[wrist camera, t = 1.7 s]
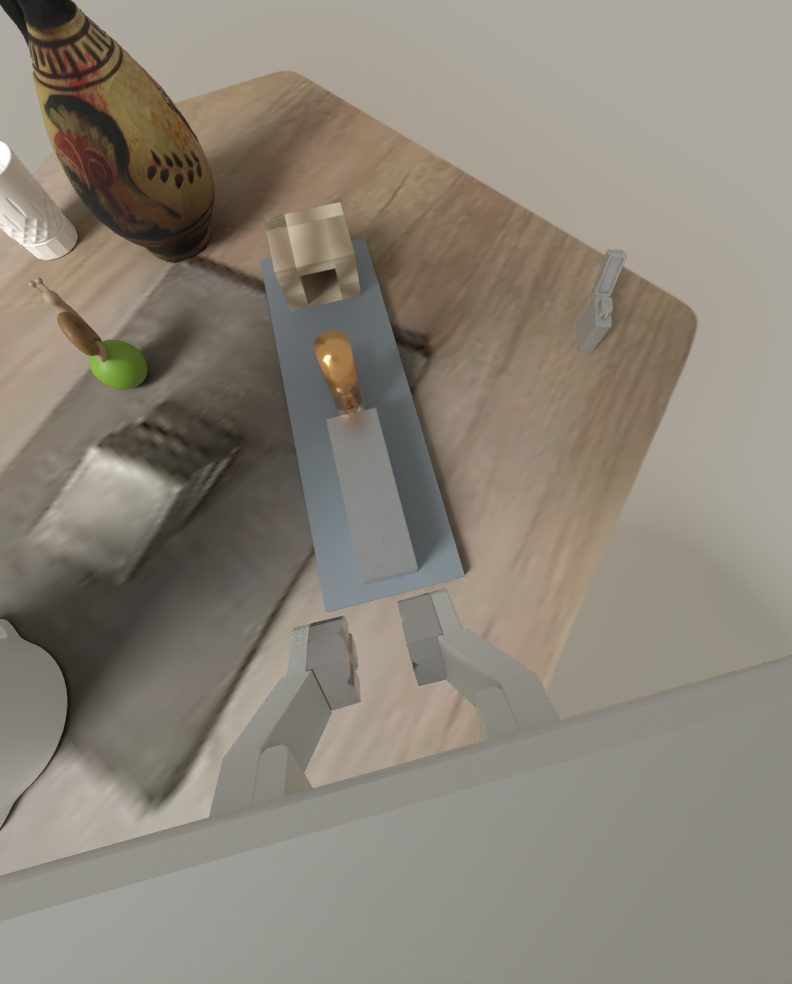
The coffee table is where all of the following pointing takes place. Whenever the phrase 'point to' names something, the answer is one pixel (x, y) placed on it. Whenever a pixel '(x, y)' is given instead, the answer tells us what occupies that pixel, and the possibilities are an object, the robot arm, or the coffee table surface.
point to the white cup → (31, 211)
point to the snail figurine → (99, 347)
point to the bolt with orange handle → (339, 371)
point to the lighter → (600, 303)
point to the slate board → (399, 427)
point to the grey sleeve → (371, 498)
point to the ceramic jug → (116, 132)
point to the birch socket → (313, 256)
